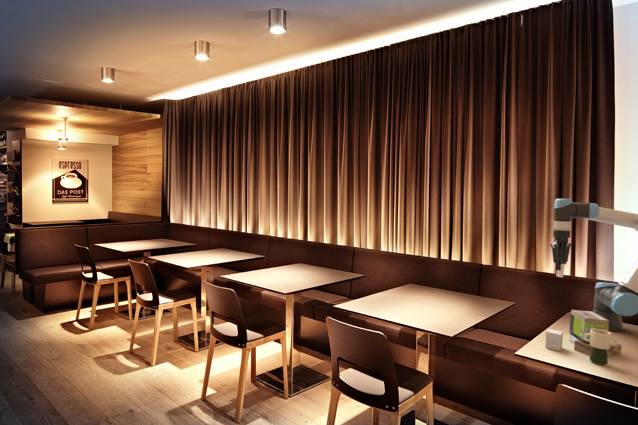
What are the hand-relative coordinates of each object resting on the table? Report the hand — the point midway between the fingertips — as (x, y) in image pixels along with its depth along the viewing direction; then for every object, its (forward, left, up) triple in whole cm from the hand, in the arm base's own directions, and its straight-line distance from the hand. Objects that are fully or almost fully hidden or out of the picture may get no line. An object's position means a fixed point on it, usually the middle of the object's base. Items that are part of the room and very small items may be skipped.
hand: (559, 276), depth 220 cm
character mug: (+23, +37, -27) cm, 51 cm away
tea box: (+9, +23, -27) cm, 36 cm away
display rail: (+11, +29, -27) cm, 41 cm away
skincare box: (+26, +19, -27) cm, 42 cm away
